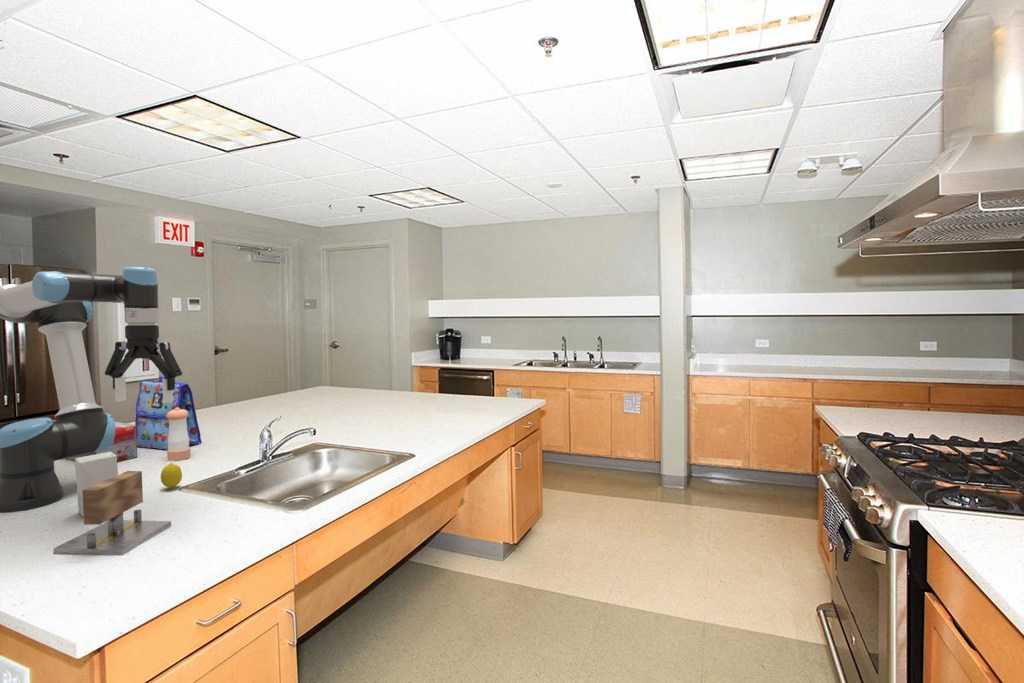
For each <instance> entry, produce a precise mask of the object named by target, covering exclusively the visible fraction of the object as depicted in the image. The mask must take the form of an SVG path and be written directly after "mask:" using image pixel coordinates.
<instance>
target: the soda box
mask: <svg viewBox="0 0 1024 683" xmlns="http://www.w3.org/2000/svg"><path fill="white" fill-rule="evenodd" d="M52 421H53V422H54V421H55V419H52ZM106 452H112V453H113V454H115V455H117V461H118V462H122V460H123V461H127V460H132V459H136V458H135V457H137V458H138V446H137V437H136V425H135V424H130V423H125V422H119V421H115V437H114V439H113V442H112V444H111V445H110V447H109V448H107V449H106V450H103V451H99V452H95V453H93V454H86V455H81V456H76V457H71V458H66V459H65V460H70V461H73V460H74V461H73V462H75V458H79V457H85V456H90V455H95V454H101V453H106ZM131 458H132V459H131ZM126 459H127V460H126Z"/></svg>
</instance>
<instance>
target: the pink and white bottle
mask: <svg viewBox="0 0 1024 683" xmlns="http://www.w3.org/2000/svg"><path fill="white" fill-rule="evenodd" d="M188 415H189V413H188V412H187V410H184V409H180V408H175V410H171V411H169V412H168V413H167V415H166V417H167V419H169V436H168V450H166V453H167V454H166V455H167V456H166V457H167V459H168V460H180V461H182V460H181V459H185V460H187V459H186V458H188V459H190V458H191V457H190V456H191V447H190V444H189V437H188V432H187V421H186V418H187V417H188ZM189 457H190V458H189ZM167 459H166V460H167ZM168 460H167V461H168Z"/></svg>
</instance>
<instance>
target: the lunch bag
mask: <svg viewBox="0 0 1024 683" xmlns="http://www.w3.org/2000/svg"><path fill="white" fill-rule="evenodd" d="M164 378H165V376H164V375H159V376H158V380H156V381H155V380H152V381H151V380H150V381H145V380H144V381H140V382H139V385H138V386H139V388H138V395H137V399H136V401H135V402H136V403H135V424H134V425H136V437H137V448H138V447H139V448H145V447H147V448H146V449H153V448H157V449H156V450H162V449H165V450H164V451H167V450H168V436H169V419H167V417H166V415H167V413H168V412H169V411H171V410H175V408H180V409H184V410H187V412H188V413H189V415H188V417H187V418H186V421H187V432H188V437H189V445H200V444H199V443H201V444H202V438H201V436H202V435H201V430H200V426H199V423H198V416H197V412H196V408H195V403H194V395H193V391H192V389H191V387H190V385H189V384H188V383H187V382H186V383H185V382H179V381H177V382H176V381H175V390H173V401H172V402H168V403H163V379H164Z"/></svg>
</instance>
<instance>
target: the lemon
mask: <svg viewBox="0 0 1024 683" xmlns="http://www.w3.org/2000/svg"><path fill="white" fill-rule="evenodd" d="M182 479H183V472H182V469H181V467H180V466H179V465H178V464H175V463H172V462H171V463H169V464H167V465H166V466H164V467H163V468H162V470H161V473H160V482H161V483H162V485H163V486H164V487H167V488H169V489H174V488H175V487H177V486H178V485H179V484H180V482H181V481H182Z"/></svg>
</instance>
